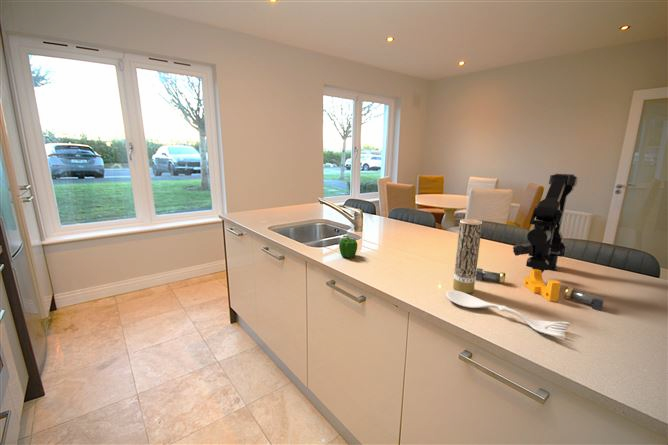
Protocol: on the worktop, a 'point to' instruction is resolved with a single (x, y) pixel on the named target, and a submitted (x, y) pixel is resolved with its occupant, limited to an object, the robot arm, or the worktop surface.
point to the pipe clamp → (542, 285)
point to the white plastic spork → (541, 326)
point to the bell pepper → (348, 247)
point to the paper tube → (467, 255)
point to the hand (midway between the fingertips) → (535, 279)
